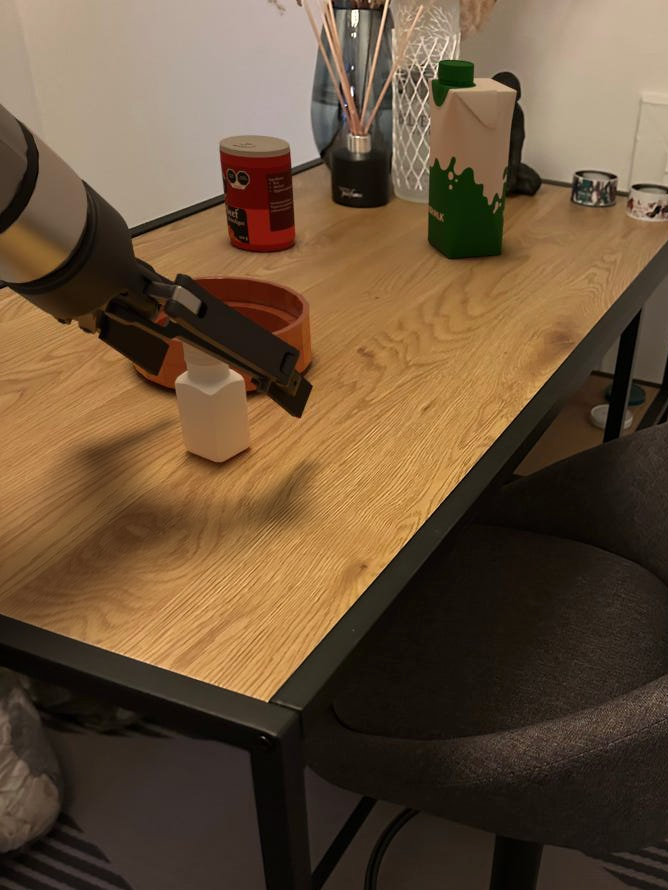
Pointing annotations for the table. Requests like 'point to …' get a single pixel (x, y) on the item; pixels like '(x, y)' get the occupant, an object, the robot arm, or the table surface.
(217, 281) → the bowl
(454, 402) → the table surface
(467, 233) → the milk carton
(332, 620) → the table surface
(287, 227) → the canned food
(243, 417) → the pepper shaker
